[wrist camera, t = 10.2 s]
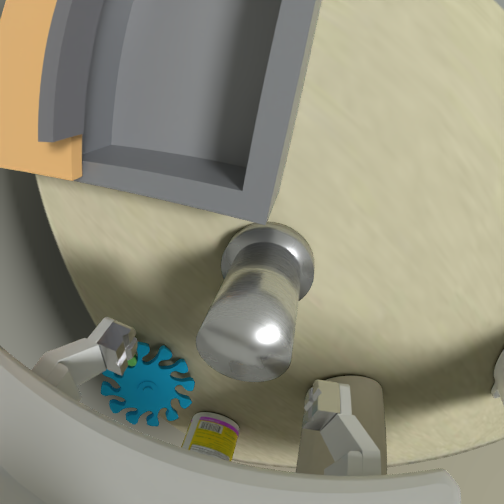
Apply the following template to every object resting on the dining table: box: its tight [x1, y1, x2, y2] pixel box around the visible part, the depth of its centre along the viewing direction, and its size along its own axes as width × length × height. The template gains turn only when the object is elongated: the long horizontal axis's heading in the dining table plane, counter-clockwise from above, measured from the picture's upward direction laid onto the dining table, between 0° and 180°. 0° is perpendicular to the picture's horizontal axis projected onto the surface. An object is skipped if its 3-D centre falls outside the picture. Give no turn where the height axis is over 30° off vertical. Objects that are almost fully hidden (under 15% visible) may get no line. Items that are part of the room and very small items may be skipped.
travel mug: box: [296, 376, 387, 475], centre depth 17 cm, size 8×8×18 cm
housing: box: [73, 0, 322, 225], centre depth 11 cm, size 17×16×5 cm
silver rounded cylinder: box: [196, 222, 314, 382], centre depth 15 cm, size 6×6×8 cm
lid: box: [0, 0, 104, 181], centre depth 8 cm, size 12×15×3 cm
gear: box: [101, 342, 195, 426], centre depth 26 cm, size 11×6×10 cm
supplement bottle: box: [181, 412, 239, 461], centre depth 27 cm, size 7×7×13 cm
